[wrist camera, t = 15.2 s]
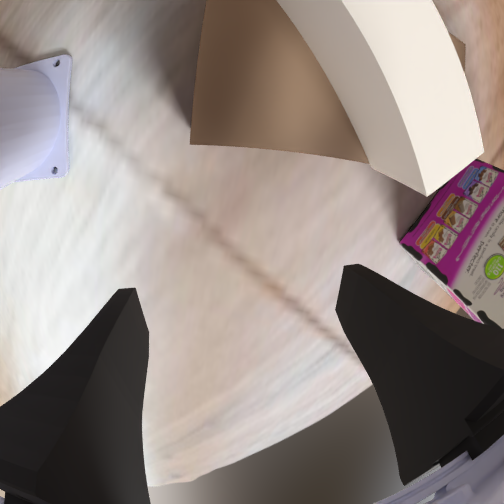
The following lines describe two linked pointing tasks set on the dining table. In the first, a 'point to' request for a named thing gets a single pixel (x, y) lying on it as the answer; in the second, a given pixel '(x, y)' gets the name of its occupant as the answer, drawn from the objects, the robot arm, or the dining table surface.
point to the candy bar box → (465, 241)
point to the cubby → (267, 85)
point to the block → (395, 84)
